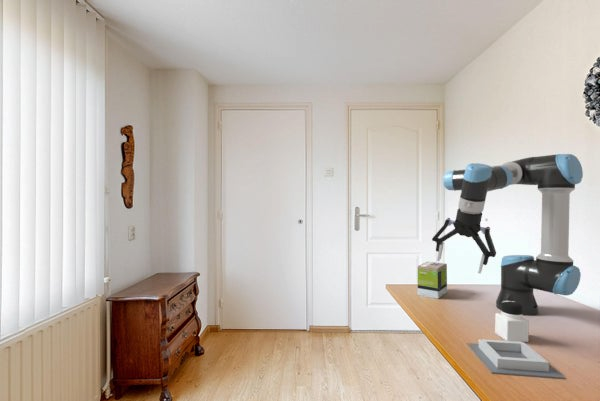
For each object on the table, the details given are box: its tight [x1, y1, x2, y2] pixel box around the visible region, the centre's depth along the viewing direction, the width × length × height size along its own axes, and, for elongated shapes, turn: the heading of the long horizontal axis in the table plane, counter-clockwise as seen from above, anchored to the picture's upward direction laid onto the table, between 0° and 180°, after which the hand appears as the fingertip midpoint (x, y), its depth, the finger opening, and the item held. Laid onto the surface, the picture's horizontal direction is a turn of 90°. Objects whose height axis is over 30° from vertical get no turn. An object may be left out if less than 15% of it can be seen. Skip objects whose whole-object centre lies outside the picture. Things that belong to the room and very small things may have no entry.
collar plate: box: [466, 338, 566, 380], centre depth 97 cm, size 18×18×4 cm
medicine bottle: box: [494, 301, 530, 343], centre depth 113 cm, size 7×7×12 cm
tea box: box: [417, 261, 448, 300], centre depth 164 cm, size 15×10×15 cm
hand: (458, 265), depth 118 cm, fingers open, 13 cm apart
